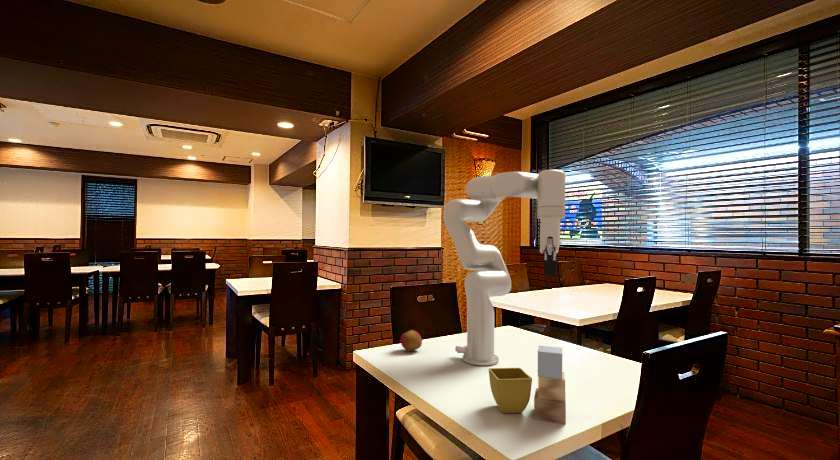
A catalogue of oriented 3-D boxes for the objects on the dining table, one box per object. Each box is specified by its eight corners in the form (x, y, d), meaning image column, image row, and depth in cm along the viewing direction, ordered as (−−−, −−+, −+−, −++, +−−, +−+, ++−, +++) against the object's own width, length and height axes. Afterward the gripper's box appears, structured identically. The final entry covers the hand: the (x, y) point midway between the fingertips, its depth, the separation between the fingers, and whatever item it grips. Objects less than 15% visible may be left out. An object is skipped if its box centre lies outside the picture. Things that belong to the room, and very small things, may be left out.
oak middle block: (538, 398, 92) (538, 377, 92) (538, 389, 98) (538, 369, 98) (565, 401, 90) (565, 380, 91) (564, 392, 96) (564, 371, 96)
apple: (411, 347, 154) (411, 326, 154) (425, 351, 148) (425, 330, 148) (396, 350, 148) (396, 329, 149) (410, 355, 142) (410, 333, 143)
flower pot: (487, 402, 101) (487, 367, 102) (520, 401, 102) (520, 366, 102) (497, 417, 93) (497, 379, 93) (532, 416, 93) (533, 378, 94)
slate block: (537, 376, 93) (537, 351, 93) (538, 369, 98) (538, 345, 98) (562, 379, 91) (562, 353, 91) (562, 372, 96) (562, 347, 96)
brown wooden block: (534, 419, 92) (534, 398, 92) (535, 407, 99) (535, 388, 99) (565, 424, 90) (565, 402, 90) (565, 412, 96) (565, 391, 96)
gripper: (539, 215, 120) (538, 270, 120) (535, 211, 104) (534, 275, 104) (564, 215, 118) (564, 271, 118) (565, 211, 102) (564, 277, 101)
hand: (550, 273), depth 111 cm, fingers open, 9 cm apart
